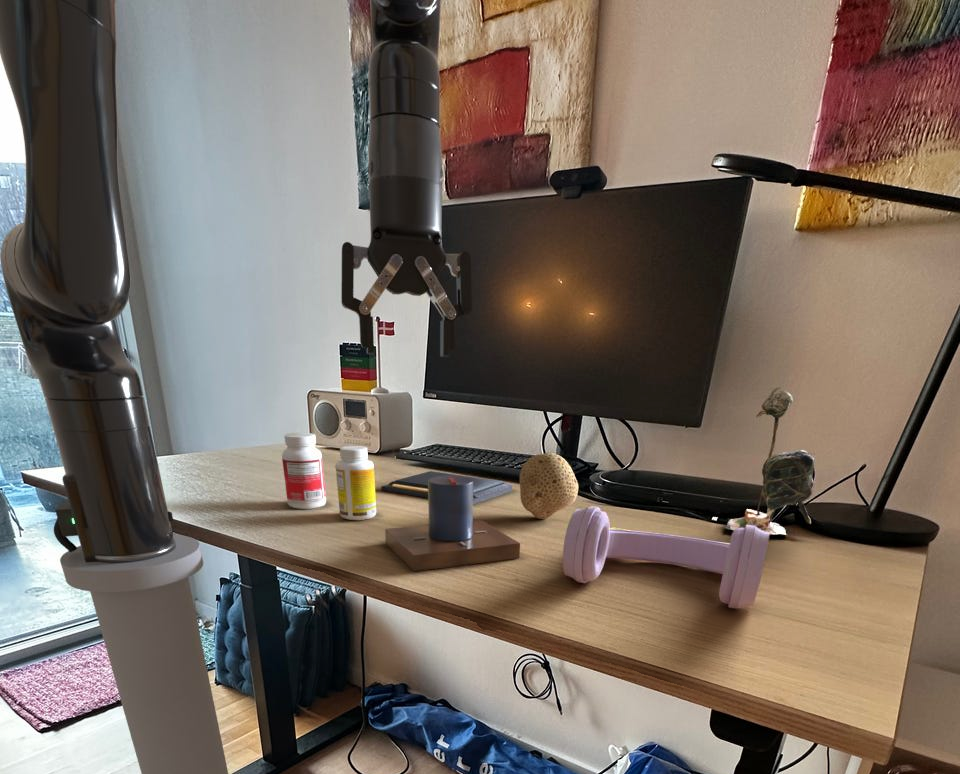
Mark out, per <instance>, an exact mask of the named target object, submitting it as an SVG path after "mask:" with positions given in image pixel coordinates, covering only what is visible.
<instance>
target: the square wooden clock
mask: <svg viewBox="0 0 960 774" xmlns="http://www.w3.org/2000/svg"><path fill="white" fill-rule="evenodd" d="M384 533H385V535H384V536H385V544H386V545H387V546H388V547H389V548H390V549H391V550H392V551H393V552H394V553H395V554H396V555H397V556H398V557H399V558H400V559H401V560H402V561H403V562H404V563H405V564H406V565H407V566H408V567H409V568H410V569H412V570H413V572H418V571H419V572H421V571H429V570H436V569H437V570H438V569H444V568H451V567H452V568H453V567H460V566H468V565H476V564H484V563H491V562H500V561H508V560H515V559H520V557H521V555H520V554H521V542H519V541H517V540H515V539H514V538H512V537H510V536H509V535H507V534H506V533H505V532H502V531H500V530H499V529H497V528H495V527H494V526H492V525H490V524H488V523H487V522H486V521H484V520H482V519H477V520H475V519H474V520H473V530H472V537H471V538H470V539H467V540H463V541H454V542H449V541H439V540H435V539H432V538H431V537H430V536H429V524H423V525H412V526H404V527H403V526H401V527H391V528H385V529H384Z"/></svg>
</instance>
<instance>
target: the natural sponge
mask: <svg viewBox="0 0 960 774" xmlns="http://www.w3.org/2000/svg"><path fill="white" fill-rule="evenodd" d="M519 490H520V491H519V493H520V501H521V504H522V506H523V508H524V509H525V510H526V511H527V512H529V513H530V514H531V515H532V516H534V517H535V518H536V519H539V520H545V519H549V518H551V517H552V516H554V515H555V514H556V513H557V512H559V511H561V510H564V509H565V508H567V507H569V506H570V505H572V504H573V503H574V502H575V501H576V499H577V497H578V492H579V482H578V480H577V478H576V476H575V473H574V471H573V469H572V467H571V465H570V464H569V462H568V461H567V460H566V459H565V458H563V457H562V456H561V455H559V454H558V453H555V452H545V453H537V454H535V455H532V457H530V458H529V459H527V460H526V462H525V463H524V464H523V465H522V467H521V469H520V472H519Z"/></svg>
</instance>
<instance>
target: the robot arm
mask: <svg viewBox="0 0 960 774" xmlns="http://www.w3.org/2000/svg"><path fill="white" fill-rule="evenodd" d="M369 6H370V9H369V10H370V30H371V49H372V51H371V53H370V57H369V63H368V75H367V76H368V78H367V79H368V81H367V82H368V85H367V86H368V108H369V109H368V110H369V111H368V112H369V134H368V146H367V147H368V148H367V161H368V162H367V163H368V164H367V171H368V191H369V193H368V195H369V222H370V223H369V224H370V226H369V227H370V241H369V244H368V246H367V247H366V246H362V245H361V246H360V245H353V244H352V243H351V242H349V241H345V242H344V243H343V244H342V246H341V284H340V285H341V287H340V288H341V290H340V291H341V296H340V297H341V300H340V301H341V302H340V303H341V306H342V307H343V308H344V309H347V310H349V311H351V312H353V313H355V314H356V315H357V316H358V320H359V343H360V346H361V348H362V349H366V354H367V355H374V354H375V346H374V345H375V339H374V337H375V336H374V316H372V309H373V308H374V306H375V305H376V304H377V302H378V301H379V299H380V298H381V296H382V295H383V294H384V292H385V291H387V292H389V293H390V294H391V295H404V294H408V295H411V296H415V297H421V296H423V295H425V294H426V295H427V297H428V298H429V299H430V301H431V303H432V304H433V305H434V306H435V308H436V309H437V311H438V312H439V314H440V316H441V318H442V320H440V322H439V323H440V327H439V328H440V329H439V333H440V334H439V335H440V337H439V339H440V340H439V355H440V357H443V358H449V357H450V352H454V351H455V347H456V344H455V343H456V321H457V319H459V318H461V317H462V316H466V315H468V314H470V313H471V312H472V311H473V297H472V296H473V295H472V256H471V253H469V252H468V251H466V250H464V251H462V252H461V253H445V252H446V251H445V250H444V248H443V242H442V240H443V239H442V233H443V231H442V228H443V226H442V225H443V224H442V220H443V218H442V217H443V181H444V170H443V151H442V149H443V148H442V142H441V141H442V139H441V79H440V78H441V77H440V67H439V62H438V61H439V51H440V49H439V47H440V33H441V32H440V29H441V6H442V0H369ZM116 7H117V6H116V0H0V58H1V61H2V65H3V68H4V71H5V74H6V79H7V80H8V84H9V86H10V89H11V92H12V96H13V99H14V102H15V105H16V106H15V107H16V109H17V112H18V116H19V121H20V124H21V128H22V129H21V130H22V134H23V141H24V142H23V143H24V156H25V211H24V221H22V222H21V223H19V224H17V225H15V226H13V227H12V228H11V229H10V230H9V231H8V232H7V234H6V235H5V236H4V238H3V240H2V243H1V247H0V266H1V267H0V268H1V273H2V278H3V282H4V285H5V289H6V293H7V296H8V300H9V303H10V306H11V310H12V313H13V316H14V319H15V323H16V326H17V329H18V331H19V335H20V339H21V342H22V345H23V348H24V351H25V355H26V357H27V359H28V362H29V364H30V367H31V368H32V369H33V372H34V373H35V375H36V377H37V379H38V381H39V384H40V387H41V391H42V394H43V397H44V400H45V405H46V408H47V411H48V416H49V419H50V422H51V426H52V429H53V430H52V431H53V434H54V437H55V441H56V444H57V447H58V451H59V456H60V459H61V462H62V466H63V470H64V475H63V476H62V484H63V487H64V490H65V491H64V492H65V494H66V497H67V499H63V500H62V501H61V502H60V503H59V505H58V506H57V507H56V509H55V511H54V512H55V514H56V520H55V522H54V526H53V534H54V536H55V539H56V541H57V542H58V543H60V545H62V547H64V549H66V550H67V552H68V551H69V552H73V551H75V550H76V549H77V547H78V546H77V545H75V544H74V543H73V542H72V541H71V540H70V539H69V538H68V537H78V541H79V544H80V545H79V546H81V548H82V552H83V555H84V559H85V562H105V563H126V562H135V561H142V560H147V559H152V558H156V557H159V556H162V555H165V554H167V553H169V552H171V551H173V550H174V549H175V548H176V544H175V539H174V538H173V534H174V533H173V527H172V524H171V523H173V524H174V516H173V512H172V511H169V510H168V505H167V500H166V496H165V491H164V486H163V485H164V484H163V481H162V476H161V472H160V467H159V462H158V457H157V451H156V448H155V443H154V437H153V433H152V428H151V423H150V418H149V414H148V408H147V404H146V399H145V395H144V389H143V384H142V381H141V377H140V373H139V372H138V370H137V369H136V367H135V366H134V365H133V364H132V363H131V362H130V360H129V359H128V357H127V355H126V353H125V351H124V349H123V346H122V342H121V339H120V335H119V331H118V328H117V327H118V326H117V324H116V320H115V319H116V318H118V317H119V316H120V315H121V314H123V313H122V312H124V310H125V309H126V306H127V304H128V302H129V299H130V295H131V287H132V286H131V285H132V280H131V278H132V276H131V267H130V257H129V250H128V244H127V236H126V231H125V230H126V229H125V222H124V221H125V220H124V215H123V206H122V198H121V189H120V180H119V179H120V178H119V166H118V164H119V162H118V159H119V158H118V153H119V152H118V149H119V148H118V144H119V143H118V142H119V123H118V122H119V117H118V115H119V114H118V84H117V82H118V81H117V78H118V77H117V75H118V72H117V71H118V70H117V69H118V62H117V61H118V42H117V41H118V37H117V36H118V35H117V8H116ZM363 260H367V262H368V264H369V265H370V267H371V269H372V270H373V271H374V273H375V275H376V276H377V278H376V279H375V281H374V282H373V284H372V286H371V288H369V290H368V292H367V294H365V296H364V298H363V299H362V300H361V299H358V298H357V297H354V287H355V286H354V283H355V282H354V275H355V273H354V272H355V271H354V270H358V269H360V268H361V265H362V262H363ZM446 266H447V267H448V268H449V271H450V274H451V276H452V277H454V278H455V279H456V282H455V283H456V304H455V305H453V304H452V302H451V301H450V299H449V297H448V296H447V293H446V290H445V289H444V288H443V286H442V284H441V283H440V281H439V280H438V278H439V276H440V274H441V272H442V270H443V269H444V268H445V267H446Z"/></svg>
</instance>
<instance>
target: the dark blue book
mask: <svg viewBox="0 0 960 774" xmlns="http://www.w3.org/2000/svg"><path fill="white" fill-rule="evenodd" d="M439 476H460V477H466V478H470V479H472V480H473V506H475V505H476V504H480V503H483V502H486V501H488V500H491V499H494V498H497V497H499V496H502V495H506V494H508V493H510V492H513V485H511V484H508V483H506V482H503V481H502V480H497V479H491V478H485V477H484V478H482V477H474V476H469V475H462V474H455V473H454V474H453V473H447V472H439V471H432V470H431V471H426V472H422V473H418V474H413V475H410V476H407V477H403V478H398V479H395V480H392V481H391V482H389V483H388V484H384V485H381V486H380V489H381V491H382V492H388V493H394V494H400V495H407V496H412V497H418V498H426V499H428V480H429V479H430V478H433V477H439Z"/></svg>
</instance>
